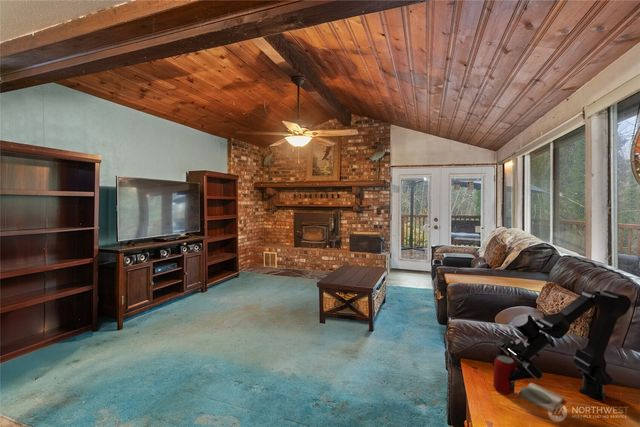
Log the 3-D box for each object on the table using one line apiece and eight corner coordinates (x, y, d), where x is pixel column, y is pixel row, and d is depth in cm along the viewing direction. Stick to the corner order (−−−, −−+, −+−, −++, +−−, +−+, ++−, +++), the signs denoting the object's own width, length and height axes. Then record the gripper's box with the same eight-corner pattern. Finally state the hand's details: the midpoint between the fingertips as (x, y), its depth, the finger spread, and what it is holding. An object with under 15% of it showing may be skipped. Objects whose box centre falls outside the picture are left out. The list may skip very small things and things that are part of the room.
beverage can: (517, 397, 105) (519, 365, 105) (497, 394, 106) (499, 362, 106) (509, 386, 112) (511, 355, 111) (490, 383, 113) (491, 353, 113)
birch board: (529, 384, 113) (529, 381, 113) (563, 399, 105) (563, 396, 105) (516, 395, 106) (516, 392, 106) (551, 413, 97) (551, 409, 97)
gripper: (502, 319, 117) (473, 345, 118) (535, 341, 99) (501, 371, 99) (520, 339, 118) (491, 364, 118) (557, 364, 99) (523, 395, 99)
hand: (500, 372), depth 109 cm, fingers open, 9 cm apart
